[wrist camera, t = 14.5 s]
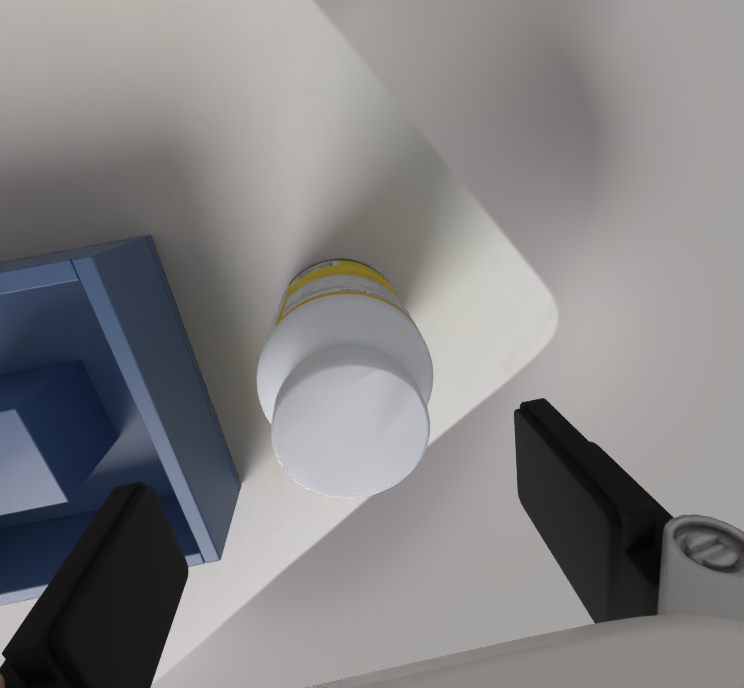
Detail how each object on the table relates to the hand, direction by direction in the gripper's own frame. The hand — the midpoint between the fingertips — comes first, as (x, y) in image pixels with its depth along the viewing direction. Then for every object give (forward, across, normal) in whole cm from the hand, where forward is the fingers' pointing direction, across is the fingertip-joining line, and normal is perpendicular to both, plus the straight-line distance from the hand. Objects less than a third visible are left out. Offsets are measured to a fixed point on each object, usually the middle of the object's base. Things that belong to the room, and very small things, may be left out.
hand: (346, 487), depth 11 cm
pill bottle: (+14, 0, 0) cm, 14 cm away
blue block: (+13, +16, +2) cm, 20 cm away
